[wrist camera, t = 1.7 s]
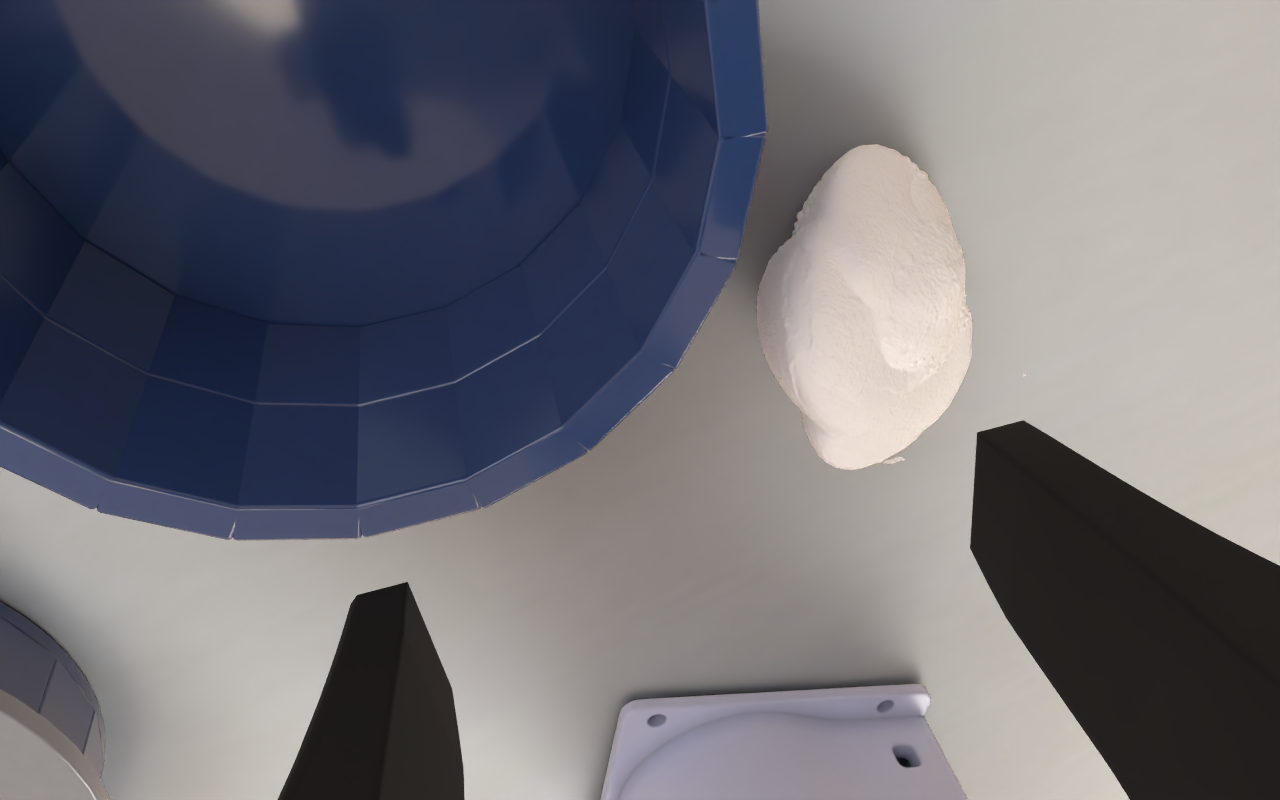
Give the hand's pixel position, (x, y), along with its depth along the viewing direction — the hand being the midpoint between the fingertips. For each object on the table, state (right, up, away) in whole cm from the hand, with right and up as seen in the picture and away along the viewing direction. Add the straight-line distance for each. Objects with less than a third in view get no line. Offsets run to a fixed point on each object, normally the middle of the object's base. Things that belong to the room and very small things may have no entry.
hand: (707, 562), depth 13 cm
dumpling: (+4, +5, +10) cm, 12 cm away
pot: (-6, +8, +5) cm, 11 cm away
